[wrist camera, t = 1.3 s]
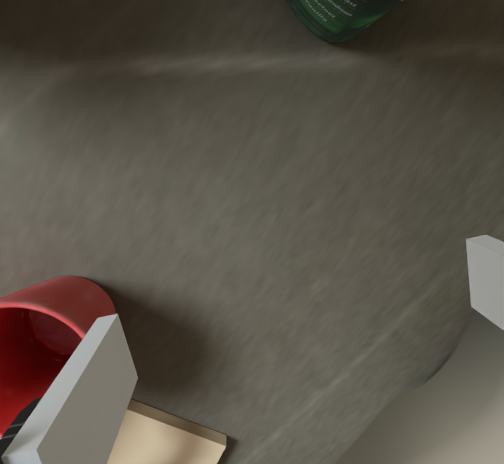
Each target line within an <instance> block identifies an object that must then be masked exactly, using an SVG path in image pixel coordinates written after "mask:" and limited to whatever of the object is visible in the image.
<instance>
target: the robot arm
mask: <svg viewBox="0 0 504 464" xmlns="http://www.w3.org/2000/svg"><path fill="white" fill-rule="evenodd" d="M466 246H467V259H468V272H469V285H470V298H471V307H473V308H474V309H475V310H477V311H478V312H479V313H481V314H482V315H483V316H485V317H486V318H488V319H489V320H490V321H491V322H493V323H494V324H495V325H497V326H498V327H500V328H501V329H502V330H504V242H502V241H500V240H498V239H495V238H493V237H491V236H488V235H483V236H478V237H473V238H469V239H466ZM137 380H138V376H137V373H136V369H135V366H134V363H133V360H132V357H131V354H130V350H129V347H128V344H127V341H126V338H125V335H124V332H123V328H122V325H121V322H120V319H119V316H118V314H114V315H109V316H105V317H100V318H97V319H96V321H95V322H94V324H93V325H92V327H91V328H90V330H89V331H88V332H87V334H86V335H85V337H84V338H83V340H82V341H81V343H80V344H79V345H78V347H77V348H76V350H75V351H74V353H73V354H72V356H71V357H70V358H69V360H68V361H67V363H66V364H65V366H64V367H63V369H62V370H61V372H60V373H59V374H58V376H57V377H56V379H55V380H54V382H53V383H52V385H51V386H50V387H49V389H48V390H47V392H46V393H45V395H44V396H43V397H41V398H36V399H34V400H33V401H32V402H31V403H30V404H28V405H27V406H26V407H25V408H24V409H23V410H21V411H20V412H19V414H18V415H17V416H16V418H15V419H14V420H13V422H12V423H11V424H10V428H8V429H7V430H6V431H5V433H4V434H3V435H2V439H0V464H107V462H108V459H109V457H110V454H111V451H112V448H113V446H114V443H115V440H116V437H117V435H118V432H119V429H120V426H121V424H122V421H123V418H124V415H125V413H126V410H127V407H128V404H129V402H130V399H131V396H132V393H133V391H134V388H135V385H136V382H137Z"/></svg>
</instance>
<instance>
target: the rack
mask: <svg viewBox="0 0 504 464" xmlns="http://www.w3.org/2000/svg"><path fill="white" fill-rule="evenodd" d="M0 439H1V438H0ZM225 448H226V435H224V434H222V433H219V432H217V431H214V430H211V429H209V428H206V427H203V426H201V425H198V424H195V423H193V422H190V421H187V420H185V419H182V418H179V417H177V416H174V415H171V414H169V413H166V412H164V411H161V410H158V409H156V408H153V407H150V406H148V405H145V404H142V403H140V402H137V401H134V400H132V399H130V402H129V404H128V407H127V410H126V413H125V415H124V418H123V421H122V424H121V426H120V429H119V432H118V435H117V437H116V440H115V443H114V446H113V448H112V451H111V454H110V457H109V459H108V462H107V464H217V463H218V461H219V459H220V457H221V455H222V453H223V451H224V450H225Z"/></svg>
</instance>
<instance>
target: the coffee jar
mask: <svg viewBox="0 0 504 464" xmlns="http://www.w3.org/2000/svg"><path fill="white" fill-rule="evenodd" d="M402 1H403V0H287V2H288V4H289V6H290V7H291V9H292V10H293V12H294V13H295V14H296V15H297V17H298V18H299V19H300V20H301V21H302V23H303V24H304V25H305V26H306V27H307V28H308V29H309V30H310V31H312V32H313V33H314V34H315V35H317V36H318V37H319V38H321V39H323V40H325V41H328V42H333V43H340V42H344V41H347V40H350V39H351V38H353V37H355V36H356V35H357V34H359V33H360V32H362V31H363V30H364V29H366V28H367V27H368V26H370V25H371V24H372V23H374V22H375V21H376V20H377V19H379V18H380V17H381V16H383V15H384V14H385V13H386V12H388V11H389V10H391V9H392V8H393V7H395V6H396V5H397V4H399V3H400V2H402Z"/></svg>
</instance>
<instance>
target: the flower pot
mask: <svg viewBox="0 0 504 464" xmlns="http://www.w3.org/2000/svg"><path fill="white" fill-rule="evenodd" d="M114 314H116V312H115V307H114V304H113V302H112V300H111V299H110V297H109V295H108V294H107V293H106V292H105V291H104V290H103V289H102V288H101V287H100V286H98V285H97V284H95V283H94V282H92V281H90V280H87V279H85V278H81V277H76V276H62V277H57V278H53V279H51V280H48V281H45V282H42V283H40V284H37V285H34V286H31V287H28V288H26V289H23V290H20V291H18V292H15V293H13V294H10V295H7V296H5V297H2V298H0V438H1V439H2V435H3V434H4V433H5V431H6V430H7V429H8V428H10V424H11V423H12V422H13V420H14V419H15V418H16V416H17V415H18V414H19V412H20V411H21V410H23V409H24V408H25V407H26V406H27V405H28V404H30V403H31V402H32V401H33V400H34V399H36V398H41V397H43V396H44V395H45V393H46V392H47V390H48V389H49V387H50V386H51V385H52V383H53V382H54V380H55V379H56V377H57V376H58V374H59V373H60V372H61V370H62V369H63V367H64V366H65V364H66V363H67V361H68V360H69V358H70V357H71V356H72V354H73V353H74V351H75V350H76V348H77V347H78V345H79V344H80V343H81V341H82V340H83V338H84V337H85V335H86V334H87V332H88V331H89V330H90V328H91V327H92V325H93V324H94V322H95V321H96V319H97V318H100V317H105V316H109V315H114Z"/></svg>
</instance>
